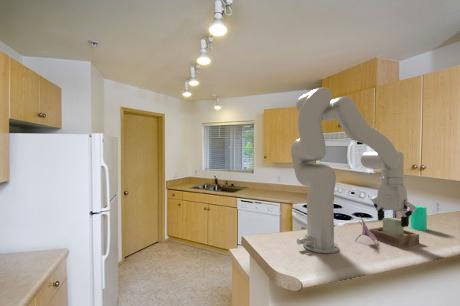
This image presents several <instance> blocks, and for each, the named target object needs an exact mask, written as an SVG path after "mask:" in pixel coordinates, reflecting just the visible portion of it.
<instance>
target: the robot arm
mask: <svg viewBox="0 0 460 306" xmlns="http://www.w3.org/2000/svg"><path fill="white" fill-rule="evenodd" d="M332 96H333V94H332V92H331V90H330V89H329V88H328V87H325V86H320V87H317V88H315V89H313V90H310V91H309V92H307V93H304V94H302V95H301V96H300V97H299V98H298V99H297V101H296V104H295V108H296V110H297V112H298V116H297V130H298V136H299V137H298V139H296V140H295V141H293V143H292V145H291V147H290V155H291V161H292V164H293V170H294V174H295V177H296V180H297V182H299V184H301V185H302V186H304V187H309V188H308V192H307V197H306V234H304V237H303V238H297V239H296V244H297V245H303V247H304V248H305V249H306V250H308V251H311V252H313V253H318V254H334V253H337V252H338V251H339V249H340V248H339V245H338V244H337V243H336V242H335V223H334V221H335V220H334V218H335V215H334V214H335V213H334V212H335V211H334V201H335V200H334V197H335V196H334V195H335V194H334V193H335V187H336V182H337V175H336V172H335V170H334V169H333V168H332V166H329V165H327V164H324V163H315V162H317V161H321V160H323V159H324V158H325V157H326V155H327V145H326V142H325V137H324V136H325V135H324V132H323V126H322V121H325V122H333V121H337V123H338V124H339V125H340V127H341V129H342V130H343V132H344V133H345V135H346V137H347V138H349V139H351V140H353V141H355V142H358V143H361V144H363V145H365V146H367V147H369V148H371V149H372V150H368V151H366V152H363V153H362V154H361V156H360V163H361V165H362V166H363V168H364V167H365V168H366V169H370V170H381V177H379V181H381V183H379V185H378V188H377V193H376V195H377V196H376V197H375V198H372V199H371V202H372V204H373V207H374V208H375V211H377V220H378V221H383V218H385V209H386V210H390V211H395V212H399V213H400V215H401V217H400V220H401V226H402V227H403V228H406V227H409V226H410V225H409V224H410V216H411V215H412V214H413V213H414V211H415V210H416V207H415V206H416V205H414V204H412V203H411V202H409V201H408V193H407V188H406V185H404V184H405V182H404V181H405V179H404V178H405V177H404V176H405V175H404V170H405V169H404V153H403V152H402V151H398V150H397V149H396V147H395V144H393V142H392V141H391V140H390V139H389V138H388V137H387V136H385V135H384V134H383V133H381V132H380V131H378V130H377V129H375V128H373V127H371V126H370V125H369V124H368V122H367V120H366V118H365V117H364V116H363V114H362V113H361V111H360V109H359V108H358V106H357V105H356V103H355V101H353V99H352V98H351V97H349V96H346V95H345V96H340V97H335V98H333V97H332ZM408 209H409V210H408Z"/></svg>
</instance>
